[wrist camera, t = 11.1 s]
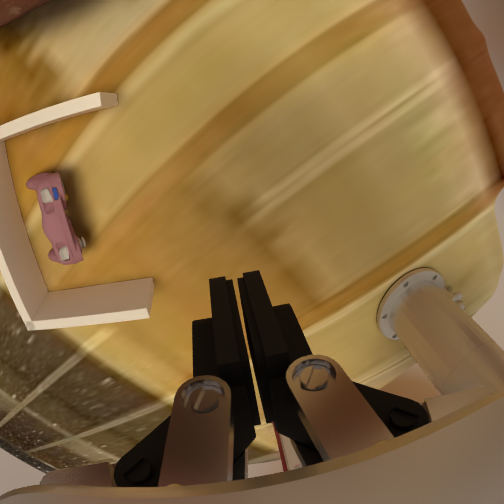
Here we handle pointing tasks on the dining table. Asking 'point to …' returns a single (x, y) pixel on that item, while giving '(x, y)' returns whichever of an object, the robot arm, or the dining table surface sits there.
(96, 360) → the dining table surface
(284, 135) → the dining table surface
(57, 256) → the video game controller
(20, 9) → the pottery vessel
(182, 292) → the dining table surface
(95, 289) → the bin
